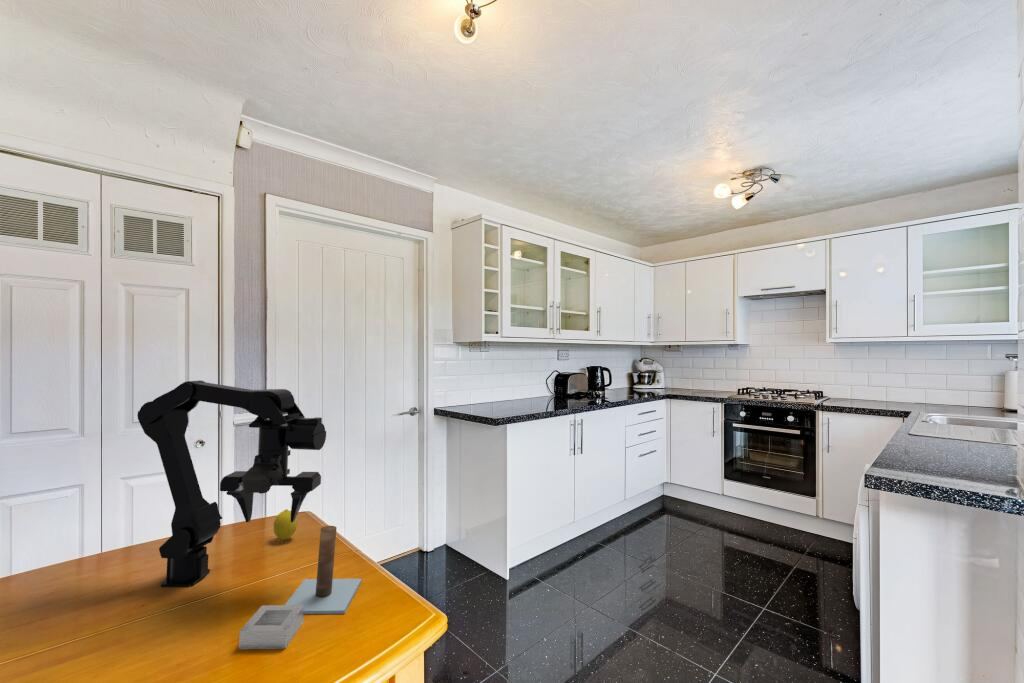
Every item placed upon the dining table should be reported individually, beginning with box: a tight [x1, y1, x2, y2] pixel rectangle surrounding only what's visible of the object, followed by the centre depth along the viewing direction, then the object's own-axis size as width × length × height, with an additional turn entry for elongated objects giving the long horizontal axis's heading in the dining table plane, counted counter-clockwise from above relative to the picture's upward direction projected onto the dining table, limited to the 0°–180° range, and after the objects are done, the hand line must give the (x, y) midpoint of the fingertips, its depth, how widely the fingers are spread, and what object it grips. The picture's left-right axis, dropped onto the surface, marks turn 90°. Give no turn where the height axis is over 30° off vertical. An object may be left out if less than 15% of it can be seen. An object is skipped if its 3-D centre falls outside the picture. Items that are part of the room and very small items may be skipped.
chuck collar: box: [238, 604, 305, 650], centre depth 78 cm, size 8×8×3 cm
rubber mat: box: [284, 578, 363, 615], centre depth 90 cm, size 12×12×1 cm
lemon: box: [273, 508, 298, 541], centre depth 117 cm, size 6×6×8 cm
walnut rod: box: [316, 525, 337, 597], centre depth 91 cm, size 3×3×13 cm
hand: (270, 521), depth 95 cm, fingers open, 9 cm apart
